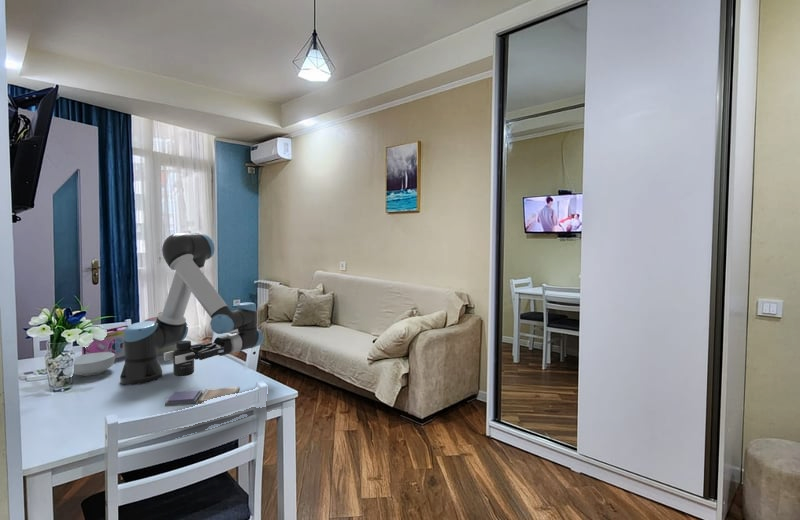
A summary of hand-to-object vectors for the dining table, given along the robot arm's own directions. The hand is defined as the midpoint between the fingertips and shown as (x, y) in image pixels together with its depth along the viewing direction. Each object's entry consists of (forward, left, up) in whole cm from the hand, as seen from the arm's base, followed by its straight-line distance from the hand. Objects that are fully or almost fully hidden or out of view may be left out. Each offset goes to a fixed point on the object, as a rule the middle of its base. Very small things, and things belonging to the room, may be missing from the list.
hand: (170, 358), depth 148 cm
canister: (-26, +72, -17) cm, 78 cm away
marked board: (+15, +5, -17) cm, 23 cm away
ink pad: (+3, +4, -17) cm, 17 cm away
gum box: (-48, +67, -17) cm, 84 cm away
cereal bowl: (-45, +43, -17) cm, 64 cm away
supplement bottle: (+4, +4, -7) cm, 9 cm away
